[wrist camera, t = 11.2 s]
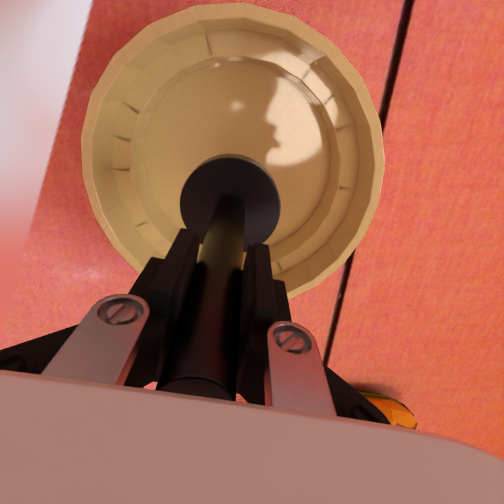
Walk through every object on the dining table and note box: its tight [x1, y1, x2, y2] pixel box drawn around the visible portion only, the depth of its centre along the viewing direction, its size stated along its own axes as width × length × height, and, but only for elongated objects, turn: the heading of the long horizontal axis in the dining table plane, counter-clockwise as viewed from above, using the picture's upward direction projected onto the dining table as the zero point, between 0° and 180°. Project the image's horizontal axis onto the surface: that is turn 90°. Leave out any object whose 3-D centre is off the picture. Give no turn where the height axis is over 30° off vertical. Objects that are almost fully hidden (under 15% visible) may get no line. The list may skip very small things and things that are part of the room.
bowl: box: [81, 2, 385, 299], centre depth 24 cm, size 20×20×7 cm
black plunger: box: [155, 154, 281, 402], centre depth 13 cm, size 6×6×14 cm
